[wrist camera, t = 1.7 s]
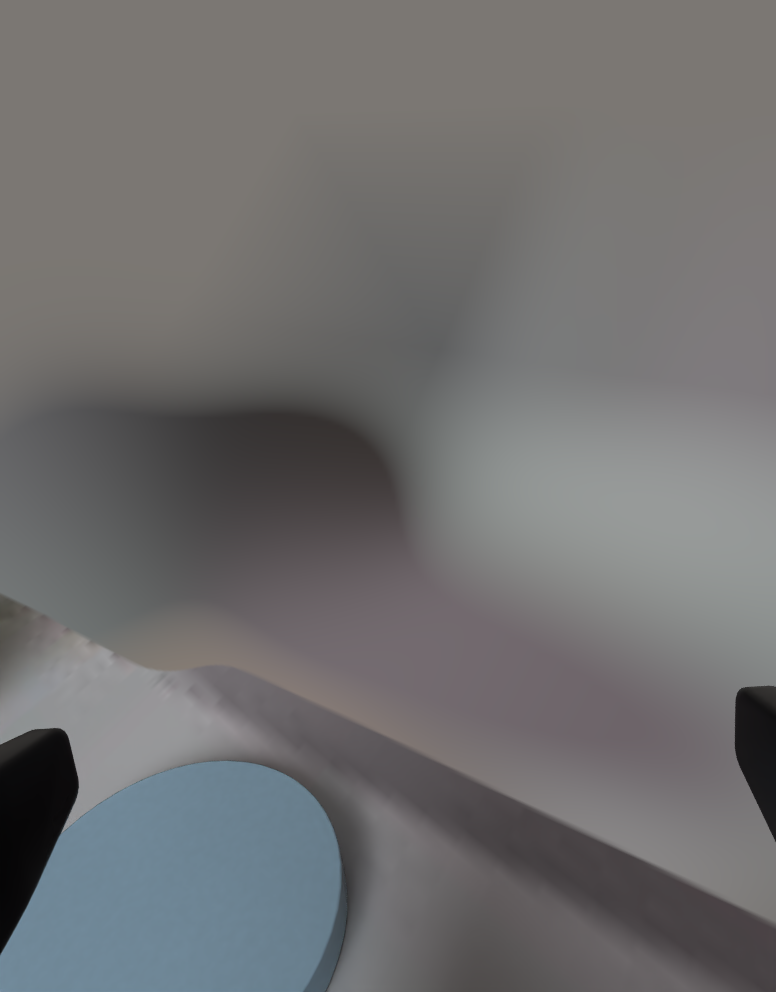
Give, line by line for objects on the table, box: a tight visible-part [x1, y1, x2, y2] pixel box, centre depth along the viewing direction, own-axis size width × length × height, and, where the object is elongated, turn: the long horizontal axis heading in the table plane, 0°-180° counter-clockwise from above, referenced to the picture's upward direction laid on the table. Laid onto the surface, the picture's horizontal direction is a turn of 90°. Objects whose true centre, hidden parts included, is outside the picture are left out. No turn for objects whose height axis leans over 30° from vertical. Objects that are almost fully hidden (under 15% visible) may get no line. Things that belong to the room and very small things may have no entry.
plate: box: [0, 761, 347, 992], centre depth 23 cm, size 12×12×2 cm
